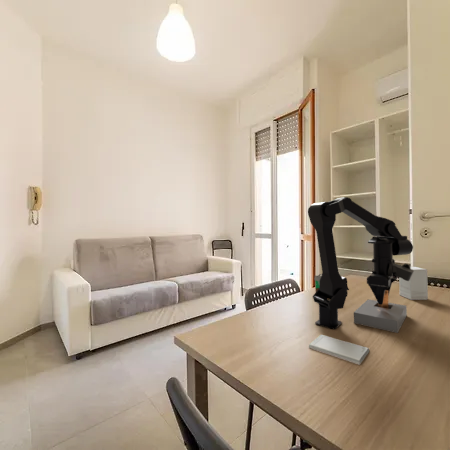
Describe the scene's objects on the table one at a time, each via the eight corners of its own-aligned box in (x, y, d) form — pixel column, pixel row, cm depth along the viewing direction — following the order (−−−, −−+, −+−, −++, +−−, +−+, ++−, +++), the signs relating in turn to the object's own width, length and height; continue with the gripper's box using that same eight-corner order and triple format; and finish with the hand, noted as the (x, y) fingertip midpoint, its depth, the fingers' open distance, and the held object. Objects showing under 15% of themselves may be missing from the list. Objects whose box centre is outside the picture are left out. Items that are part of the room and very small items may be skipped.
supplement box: (428, 299, 106) (428, 269, 106) (410, 300, 106) (410, 269, 106) (415, 294, 114) (415, 266, 114) (398, 295, 114) (398, 266, 114)
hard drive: (369, 347, 66) (321, 333, 74) (359, 360, 60) (308, 343, 68) (369, 353, 66) (321, 339, 74) (359, 367, 60) (308, 349, 68)
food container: (329, 301, 107) (329, 277, 107) (314, 298, 111) (314, 275, 111) (337, 294, 117) (336, 272, 117) (323, 292, 121) (323, 270, 121)
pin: (387, 318, 88) (387, 291, 88) (377, 316, 90) (377, 290, 90) (389, 315, 90) (389, 289, 90) (379, 313, 92) (379, 288, 92)
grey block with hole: (397, 332, 76) (397, 321, 76) (353, 322, 84) (353, 312, 84) (406, 315, 89) (406, 305, 89) (368, 308, 98) (368, 299, 97)
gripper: (407, 261, 77) (407, 313, 77) (414, 254, 91) (415, 298, 91) (365, 258, 85) (366, 306, 85) (378, 252, 99) (379, 293, 99)
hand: (383, 300), depth 90 cm, fingers open, 9 cm apart
